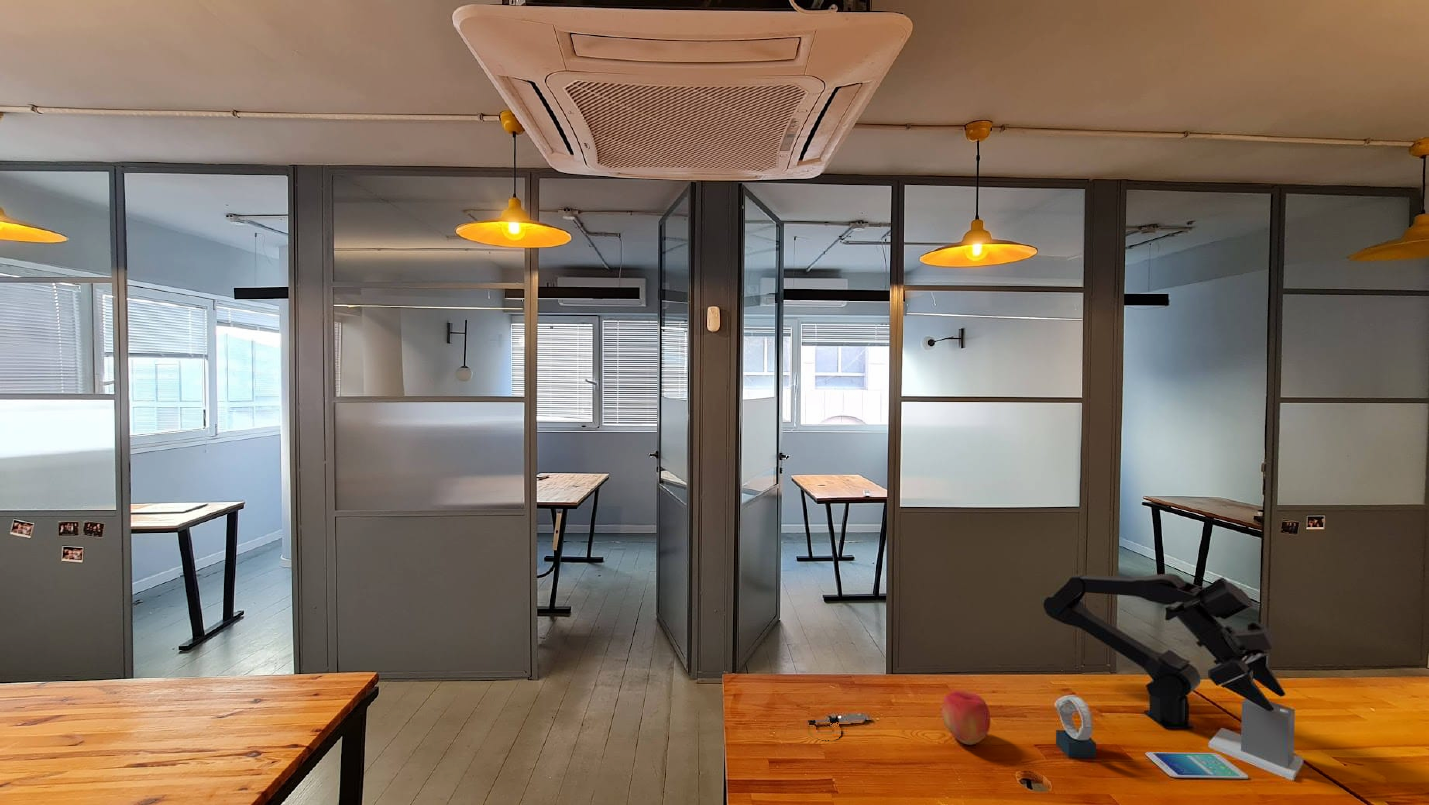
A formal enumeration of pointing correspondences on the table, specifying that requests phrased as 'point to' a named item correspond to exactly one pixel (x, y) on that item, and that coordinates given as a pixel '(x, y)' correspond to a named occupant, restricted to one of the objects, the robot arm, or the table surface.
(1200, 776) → the smartphone
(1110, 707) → the table surface
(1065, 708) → the watch
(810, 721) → the micrometer
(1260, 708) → the gray rectangular block
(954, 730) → the apple
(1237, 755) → the post stand
